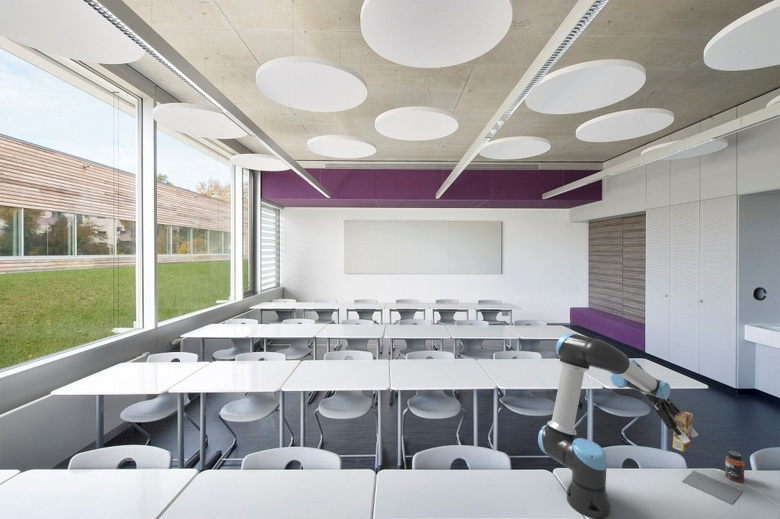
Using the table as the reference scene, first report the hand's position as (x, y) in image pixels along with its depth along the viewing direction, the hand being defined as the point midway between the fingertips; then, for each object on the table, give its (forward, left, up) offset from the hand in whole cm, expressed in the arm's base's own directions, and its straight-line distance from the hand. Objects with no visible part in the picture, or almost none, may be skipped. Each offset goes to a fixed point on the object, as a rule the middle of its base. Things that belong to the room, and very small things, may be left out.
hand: (691, 439), depth 155 cm
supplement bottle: (+11, +16, -17) cm, 26 cm away
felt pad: (+7, 0, -17) cm, 19 cm away
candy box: (-3, 0, -6) cm, 6 cm away
